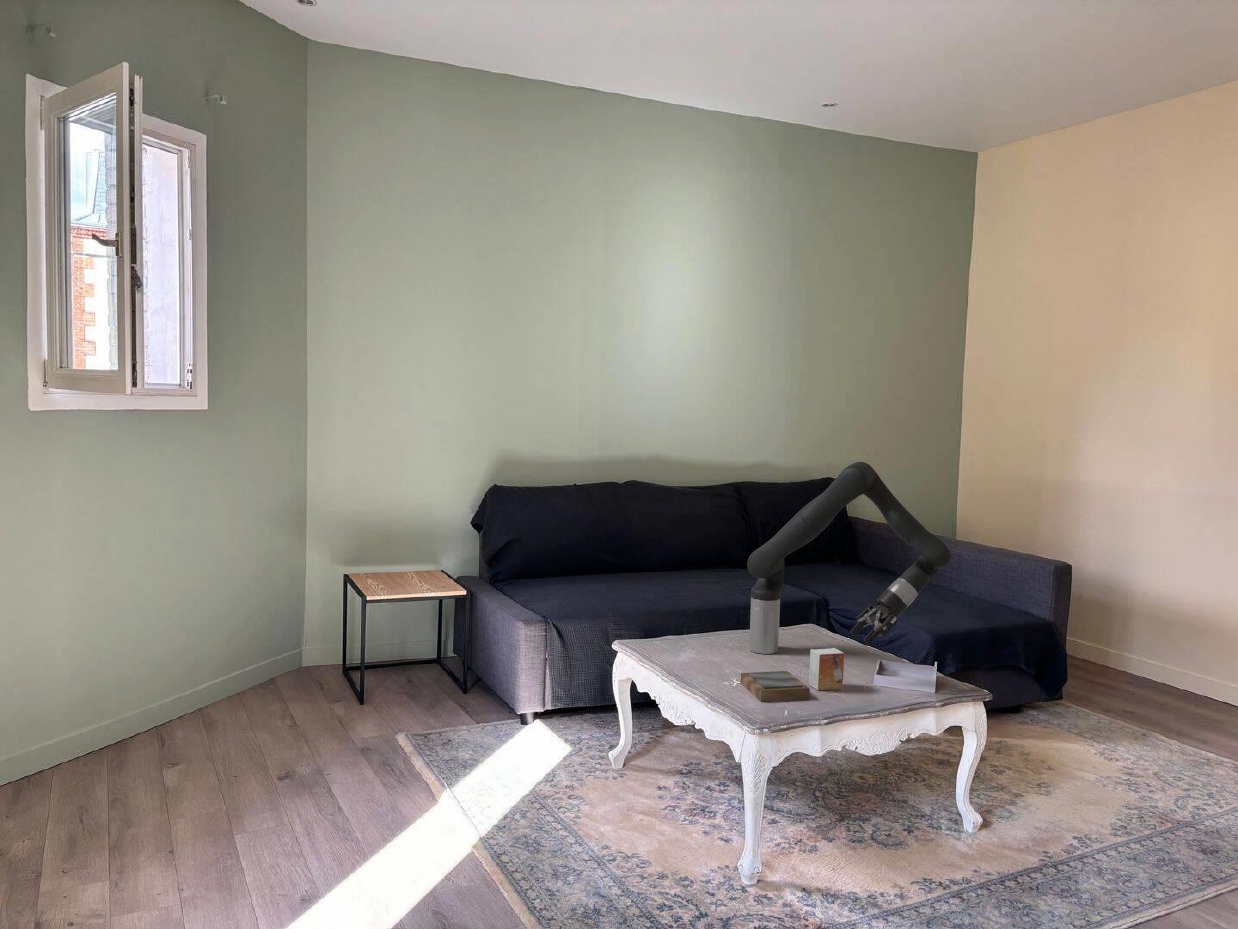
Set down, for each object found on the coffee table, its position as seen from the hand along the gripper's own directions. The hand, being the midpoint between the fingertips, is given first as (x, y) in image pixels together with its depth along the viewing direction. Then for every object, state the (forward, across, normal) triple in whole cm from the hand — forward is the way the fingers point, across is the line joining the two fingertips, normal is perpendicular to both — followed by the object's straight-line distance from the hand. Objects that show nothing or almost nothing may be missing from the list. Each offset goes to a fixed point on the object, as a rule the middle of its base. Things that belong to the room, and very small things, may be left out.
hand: (859, 638), depth 268 cm
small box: (+17, 0, +3) cm, 17 cm away
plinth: (+28, +1, -8) cm, 29 cm away
